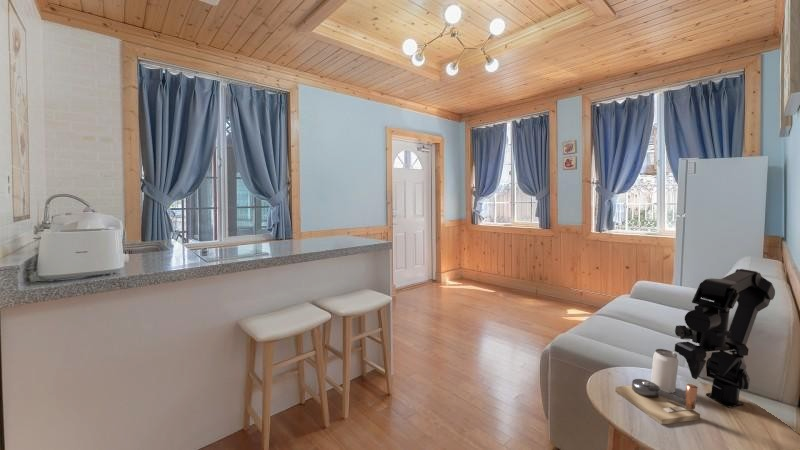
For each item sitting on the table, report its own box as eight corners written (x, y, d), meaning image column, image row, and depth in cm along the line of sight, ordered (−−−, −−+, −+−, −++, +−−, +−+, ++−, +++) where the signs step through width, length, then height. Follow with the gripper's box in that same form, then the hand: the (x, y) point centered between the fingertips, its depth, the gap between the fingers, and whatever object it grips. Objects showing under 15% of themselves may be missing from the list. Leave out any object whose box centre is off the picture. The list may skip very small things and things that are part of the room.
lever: (628, 389, 111) (630, 368, 110) (637, 382, 115) (639, 361, 114) (690, 416, 98) (693, 392, 97) (698, 407, 102) (701, 384, 102)
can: (679, 395, 111) (683, 358, 110) (656, 392, 113) (660, 356, 111) (668, 383, 118) (672, 349, 116) (646, 381, 119) (650, 347, 118)
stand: (649, 387, 115) (649, 382, 115) (699, 419, 100) (700, 413, 100) (615, 391, 113) (615, 386, 112) (661, 424, 97) (662, 418, 97)
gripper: (711, 312, 109) (705, 360, 111) (660, 316, 106) (655, 365, 108) (753, 327, 98) (746, 379, 100) (697, 331, 95) (691, 386, 97)
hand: (707, 377), depth 102 cm, fingers open, 9 cm apart
